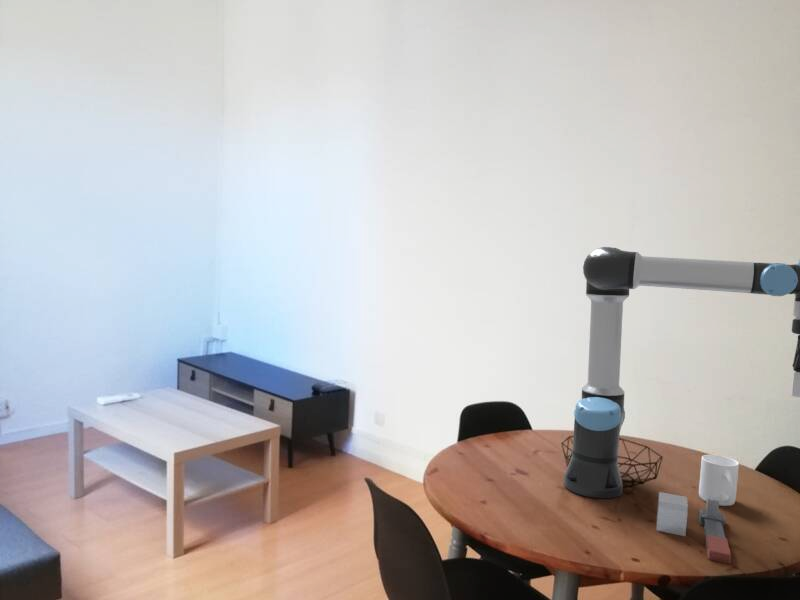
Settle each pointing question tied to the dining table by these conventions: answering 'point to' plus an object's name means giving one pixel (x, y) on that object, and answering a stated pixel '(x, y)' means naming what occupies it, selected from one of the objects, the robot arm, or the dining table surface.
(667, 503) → the white ridged cube
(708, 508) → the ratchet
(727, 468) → the mug
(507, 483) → the dining table surface
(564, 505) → the dining table surface
